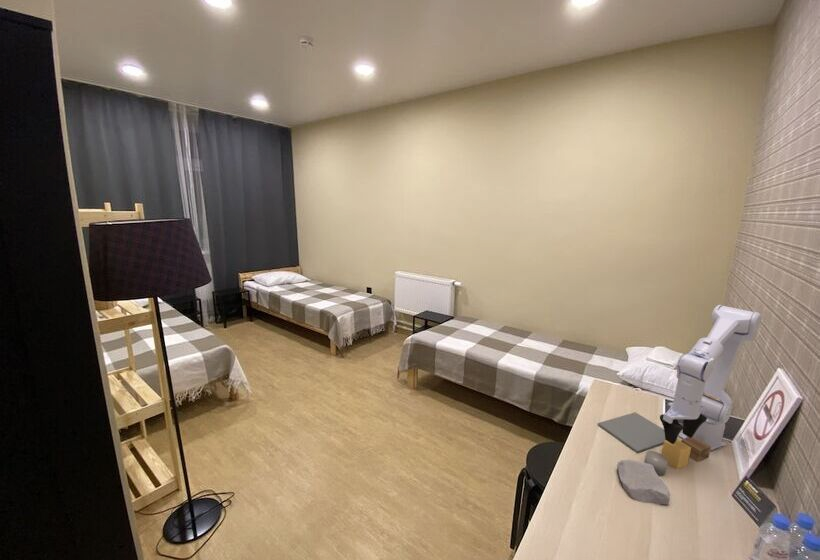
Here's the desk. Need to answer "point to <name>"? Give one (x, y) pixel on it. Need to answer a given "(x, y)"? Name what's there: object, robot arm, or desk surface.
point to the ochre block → (676, 453)
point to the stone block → (643, 482)
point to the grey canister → (656, 462)
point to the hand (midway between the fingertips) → (678, 438)
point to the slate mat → (635, 432)
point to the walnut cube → (697, 448)
